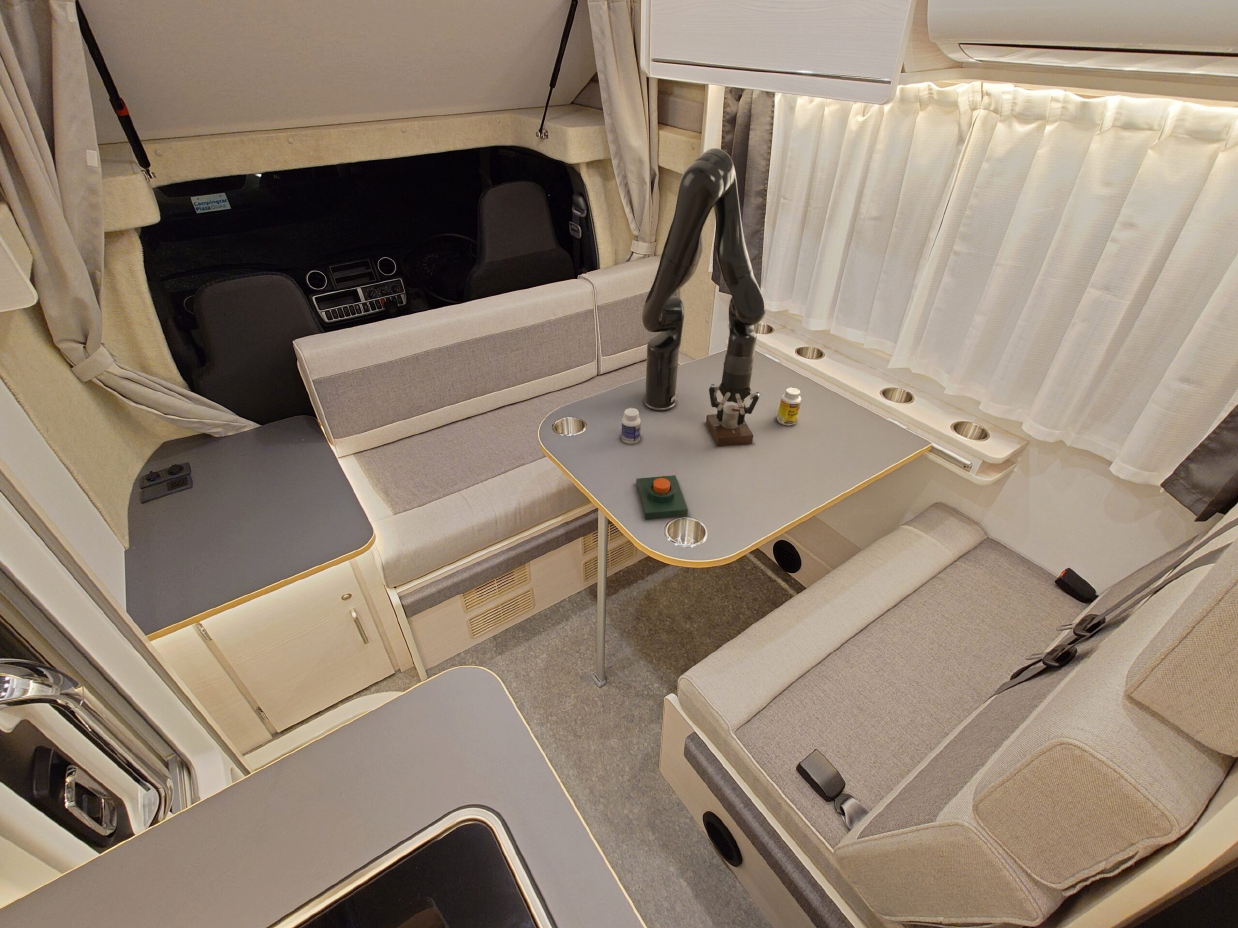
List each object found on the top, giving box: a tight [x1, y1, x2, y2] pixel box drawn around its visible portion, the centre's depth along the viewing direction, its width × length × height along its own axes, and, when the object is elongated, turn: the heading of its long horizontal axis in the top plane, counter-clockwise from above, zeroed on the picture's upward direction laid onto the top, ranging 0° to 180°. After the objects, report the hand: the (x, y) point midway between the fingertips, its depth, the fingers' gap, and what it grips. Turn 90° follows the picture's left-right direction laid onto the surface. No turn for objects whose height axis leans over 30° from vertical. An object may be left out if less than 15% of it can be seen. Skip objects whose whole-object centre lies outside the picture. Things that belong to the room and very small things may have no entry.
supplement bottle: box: [776, 387, 802, 426], centre depth 162 cm, size 6×6×10 cm
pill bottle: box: [620, 407, 642, 445], centre depth 154 cm, size 5×5×9 cm
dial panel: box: [705, 413, 754, 448], centre depth 158 cm, size 12×10×3 cm
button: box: [653, 478, 670, 494], centre depth 133 cm, size 4×4×2 cm
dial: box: [721, 404, 740, 429], centre depth 156 cm, size 5×5×5 cm
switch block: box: [635, 474, 689, 521], centre depth 135 cm, size 13×10×4 cm
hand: (729, 421), depth 157 cm, fingers closed on dial, 5 cm apart
